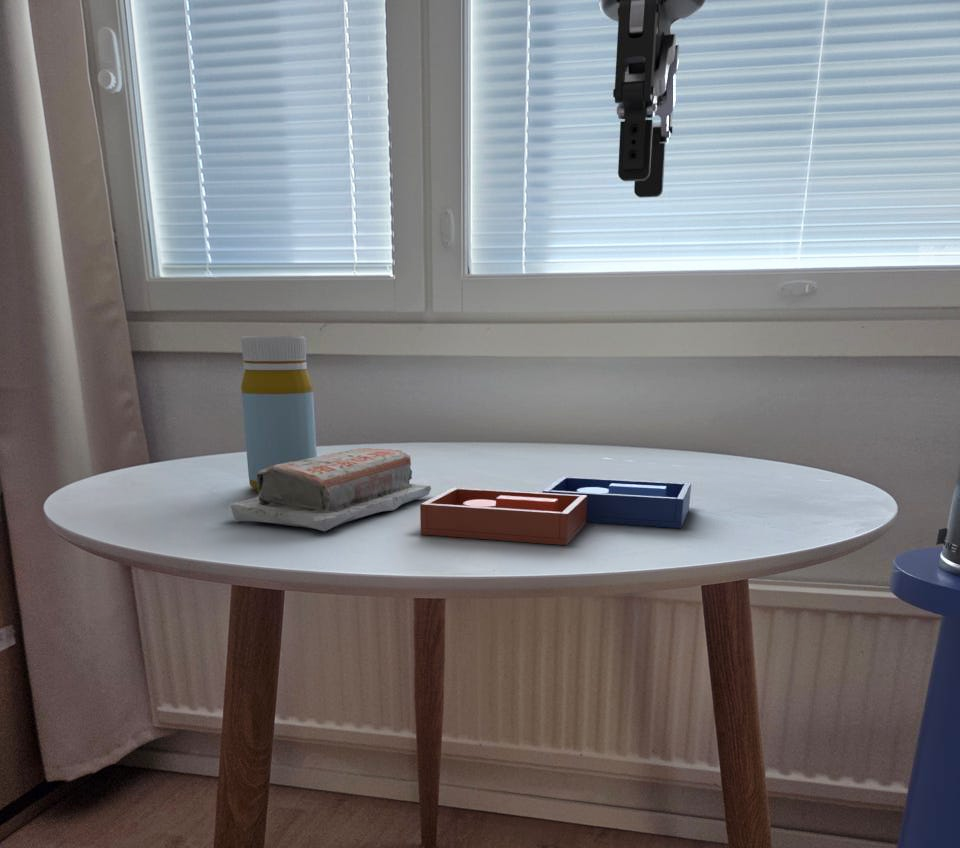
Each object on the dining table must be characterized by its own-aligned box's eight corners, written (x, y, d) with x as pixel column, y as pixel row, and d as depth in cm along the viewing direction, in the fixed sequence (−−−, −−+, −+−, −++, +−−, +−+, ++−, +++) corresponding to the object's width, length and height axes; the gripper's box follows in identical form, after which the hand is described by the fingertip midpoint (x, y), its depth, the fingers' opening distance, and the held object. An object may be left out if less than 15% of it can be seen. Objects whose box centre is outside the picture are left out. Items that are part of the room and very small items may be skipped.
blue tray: (688, 510, 81) (691, 483, 80) (681, 528, 74) (683, 499, 73) (560, 502, 85) (561, 476, 84) (541, 518, 77) (541, 490, 76)
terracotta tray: (586, 524, 75) (587, 495, 74) (566, 545, 68) (567, 513, 67) (452, 514, 79) (452, 487, 78) (420, 534, 71) (419, 504, 71)
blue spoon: (666, 508, 79) (668, 484, 79) (662, 515, 76) (664, 490, 76) (579, 503, 81) (580, 479, 81) (572, 509, 79) (573, 485, 78)
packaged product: (345, 442, 89) (431, 448, 85) (347, 489, 90) (431, 498, 86) (224, 466, 74) (322, 474, 69) (229, 522, 75) (325, 534, 71)
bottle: (323, 483, 94) (315, 336, 89) (312, 495, 87) (302, 337, 82) (259, 483, 94) (246, 336, 89) (242, 494, 87) (228, 336, 82)
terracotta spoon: (559, 522, 73) (560, 496, 73) (551, 530, 71) (552, 503, 70) (469, 516, 76) (469, 491, 75) (457, 524, 73) (457, 497, 72)
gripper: (704, -125, 54) (683, 172, 59) (716, -38, 66) (698, 199, 72) (583, -108, 56) (574, 177, 61) (617, -27, 68) (607, 202, 74)
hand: (641, 189), depth 66 cm, fingers open, 8 cm apart
